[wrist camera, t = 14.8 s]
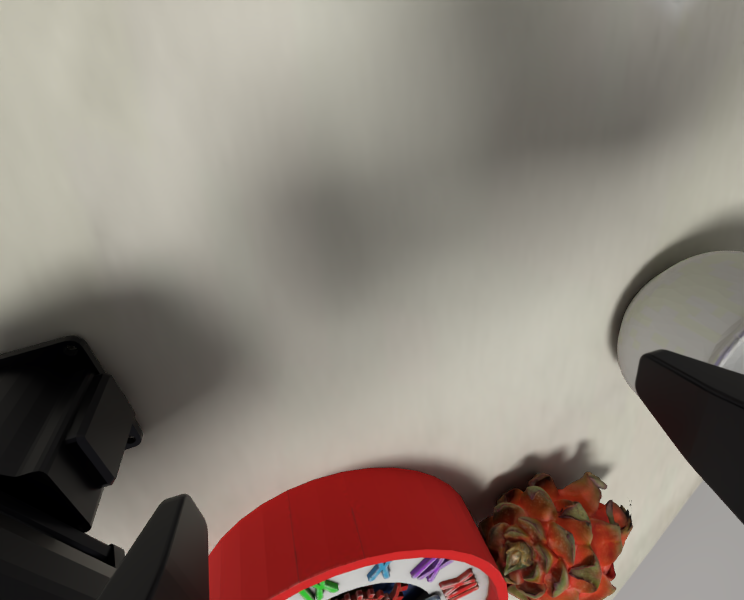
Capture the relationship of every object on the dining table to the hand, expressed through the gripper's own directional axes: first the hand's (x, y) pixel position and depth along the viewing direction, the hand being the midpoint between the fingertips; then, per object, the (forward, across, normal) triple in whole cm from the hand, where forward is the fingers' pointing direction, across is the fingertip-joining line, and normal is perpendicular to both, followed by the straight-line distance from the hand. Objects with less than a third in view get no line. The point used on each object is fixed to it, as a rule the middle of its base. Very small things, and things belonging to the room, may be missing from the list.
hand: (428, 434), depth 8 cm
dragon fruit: (+13, -10, +25) cm, 30 cm away
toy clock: (+13, +5, +26) cm, 29 cm away
